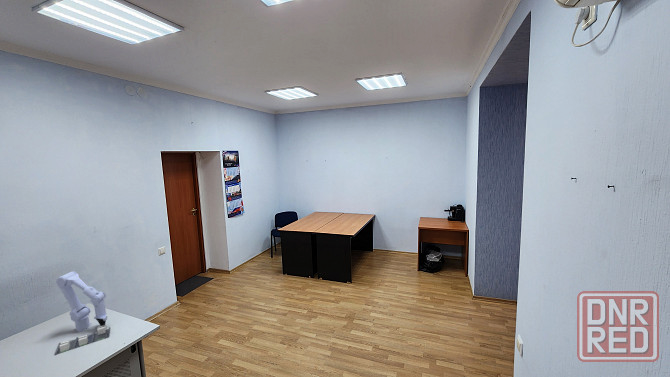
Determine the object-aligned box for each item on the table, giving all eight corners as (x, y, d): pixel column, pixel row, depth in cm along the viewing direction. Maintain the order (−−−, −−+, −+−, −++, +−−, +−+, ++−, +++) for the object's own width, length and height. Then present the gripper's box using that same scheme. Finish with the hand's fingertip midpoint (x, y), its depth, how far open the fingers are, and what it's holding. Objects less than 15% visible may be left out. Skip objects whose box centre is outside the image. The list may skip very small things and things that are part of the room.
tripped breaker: (98, 332, 193) (97, 326, 193) (106, 329, 196) (105, 324, 195) (98, 335, 190) (97, 329, 190) (105, 332, 193) (104, 327, 192)
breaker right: (61, 348, 178) (60, 342, 177) (70, 345, 180) (69, 340, 180) (60, 352, 175) (59, 346, 174) (68, 349, 177) (67, 343, 176)
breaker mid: (80, 342, 183) (79, 336, 183) (88, 339, 186) (87, 334, 185) (79, 345, 180) (78, 340, 179) (87, 343, 182) (86, 337, 182)
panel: (59, 346, 182) (58, 343, 182) (110, 329, 198) (110, 326, 198) (55, 356, 173) (54, 353, 172) (109, 338, 188) (109, 335, 188)
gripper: (89, 309, 197) (92, 326, 199) (97, 315, 189) (100, 332, 191) (101, 304, 202) (103, 320, 205) (109, 310, 195) (112, 327, 197)
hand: (102, 326), depth 198 cm, fingers closed
